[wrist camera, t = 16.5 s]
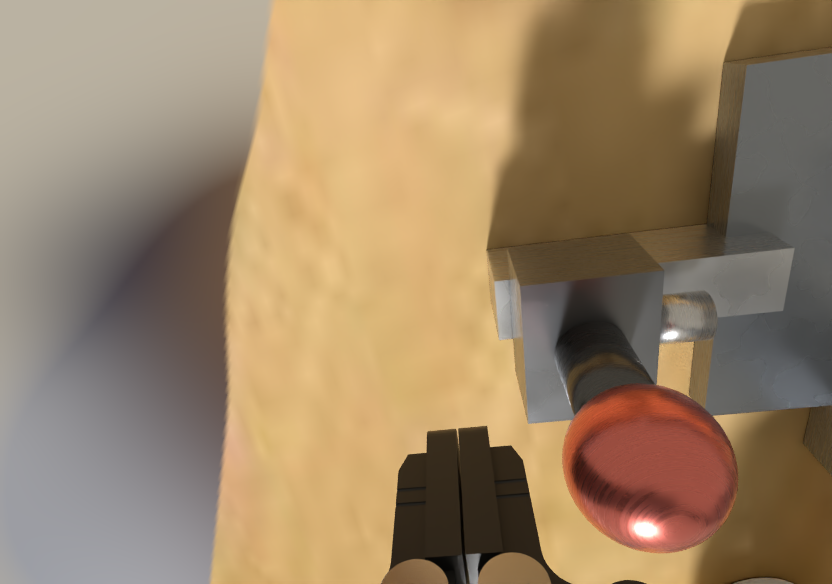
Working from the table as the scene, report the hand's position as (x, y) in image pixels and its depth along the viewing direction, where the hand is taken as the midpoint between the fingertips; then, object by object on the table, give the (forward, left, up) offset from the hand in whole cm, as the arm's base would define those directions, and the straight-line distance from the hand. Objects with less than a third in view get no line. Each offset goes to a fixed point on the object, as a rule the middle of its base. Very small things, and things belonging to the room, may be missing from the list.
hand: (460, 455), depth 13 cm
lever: (-5, 0, -7) cm, 8 cm away
